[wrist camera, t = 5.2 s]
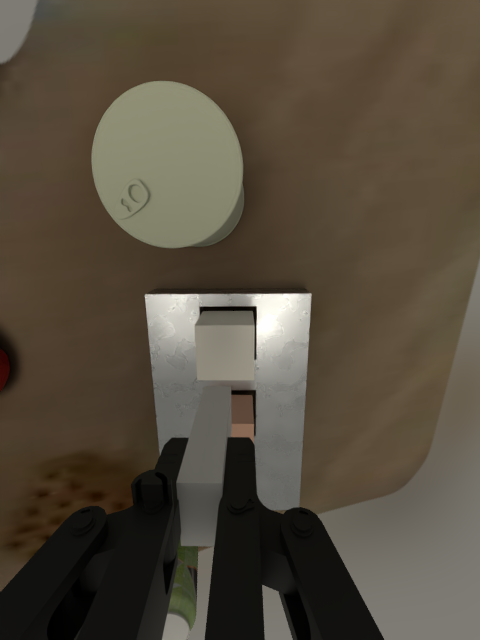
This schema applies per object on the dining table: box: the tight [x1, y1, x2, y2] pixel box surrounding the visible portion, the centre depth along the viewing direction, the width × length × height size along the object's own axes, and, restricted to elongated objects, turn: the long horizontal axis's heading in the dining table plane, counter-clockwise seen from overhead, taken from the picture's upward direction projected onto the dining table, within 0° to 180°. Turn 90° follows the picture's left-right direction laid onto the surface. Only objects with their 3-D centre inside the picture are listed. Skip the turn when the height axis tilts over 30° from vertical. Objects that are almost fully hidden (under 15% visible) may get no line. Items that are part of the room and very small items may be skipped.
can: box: [92, 81, 244, 248], centre depth 23 cm, size 9×9×12 cm
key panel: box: [145, 289, 311, 510], centre depth 33 cm, size 16×26×3 cm, turn 0°
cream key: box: [194, 311, 255, 380], centre depth 26 cm, size 5×5×5 cm
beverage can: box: [162, 539, 198, 640], centre depth 33 cm, size 6×7×12 cm
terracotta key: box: [231, 395, 254, 443], centre depth 28 cm, size 5×5×5 cm
